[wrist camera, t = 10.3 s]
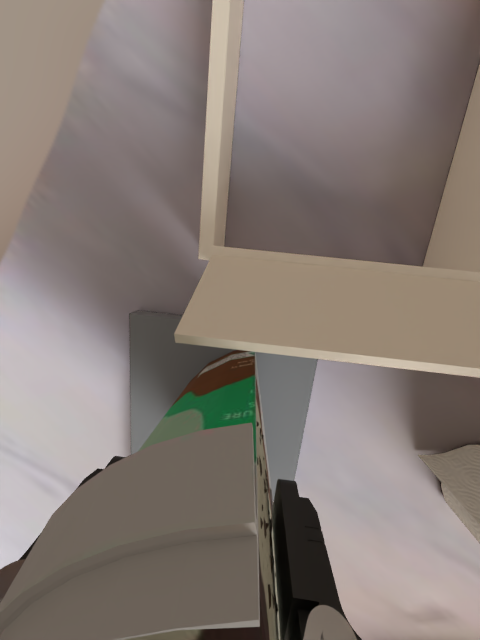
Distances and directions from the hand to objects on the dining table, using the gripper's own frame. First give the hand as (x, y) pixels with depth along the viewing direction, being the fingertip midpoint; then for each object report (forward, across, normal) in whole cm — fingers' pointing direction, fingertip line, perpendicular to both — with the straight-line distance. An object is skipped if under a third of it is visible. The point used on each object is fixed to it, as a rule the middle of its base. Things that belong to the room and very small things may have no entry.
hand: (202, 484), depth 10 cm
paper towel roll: (+6, -18, +2) cm, 19 cm away
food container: (+4, 0, 0) cm, 4 cm away
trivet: (+6, 0, 0) cm, 6 cm away
